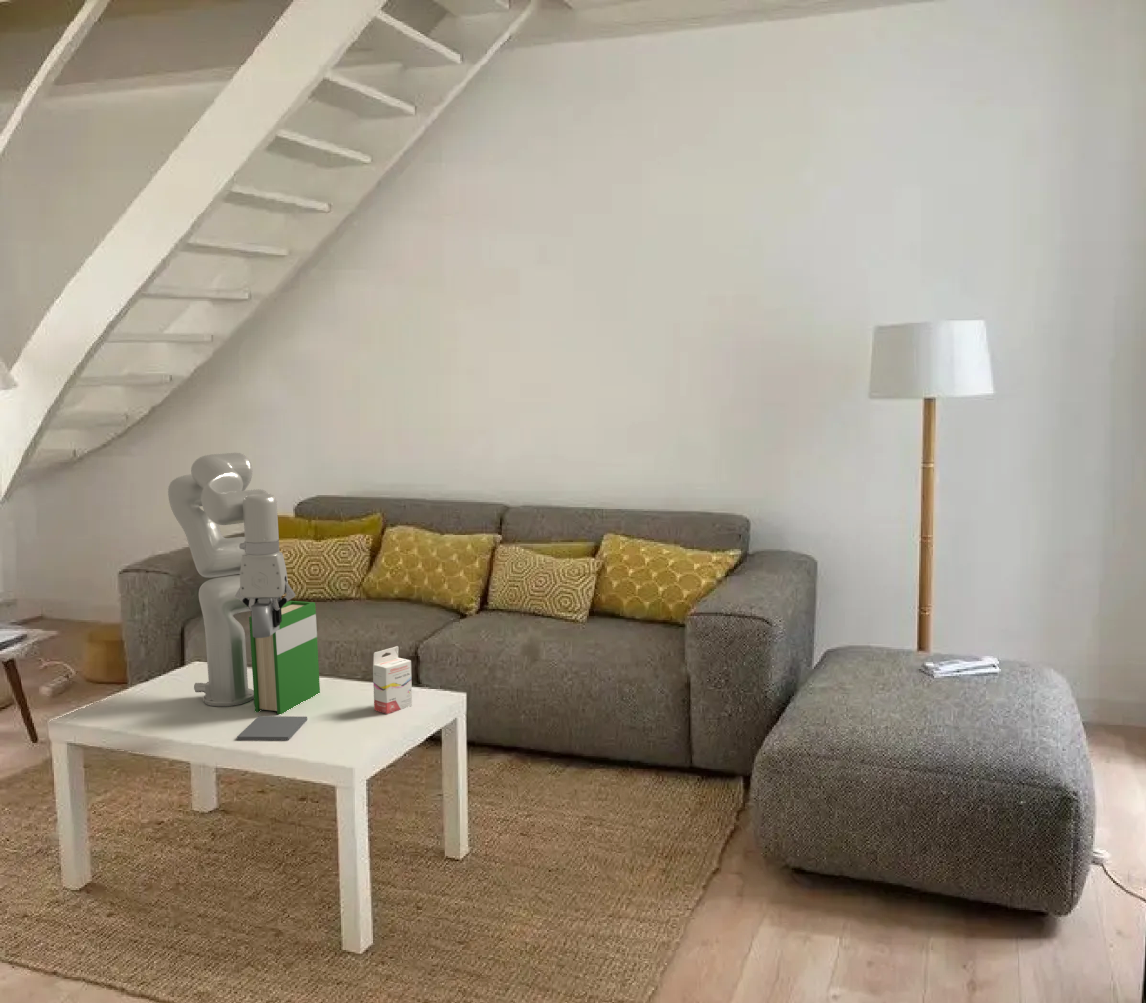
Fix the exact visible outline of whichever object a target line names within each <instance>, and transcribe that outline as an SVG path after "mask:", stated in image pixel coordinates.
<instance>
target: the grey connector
mask: <svg viewBox="0 0 1146 1003" xmlns="http://www.w3.org/2000/svg"><path fill="white" fill-rule="evenodd" d="M273 610H274V605H273V601H272V598H259V601H258V602H257V603H255V604H254V605H252V606H251V611H250V614H251V613H252V631H253V637H255V638H264V637H269V636H271V635H272V634H273V633H275V632H276V631H277V630H279V629H280V628H279V626H277V627H273V613H272V612H273Z"/></svg>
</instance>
